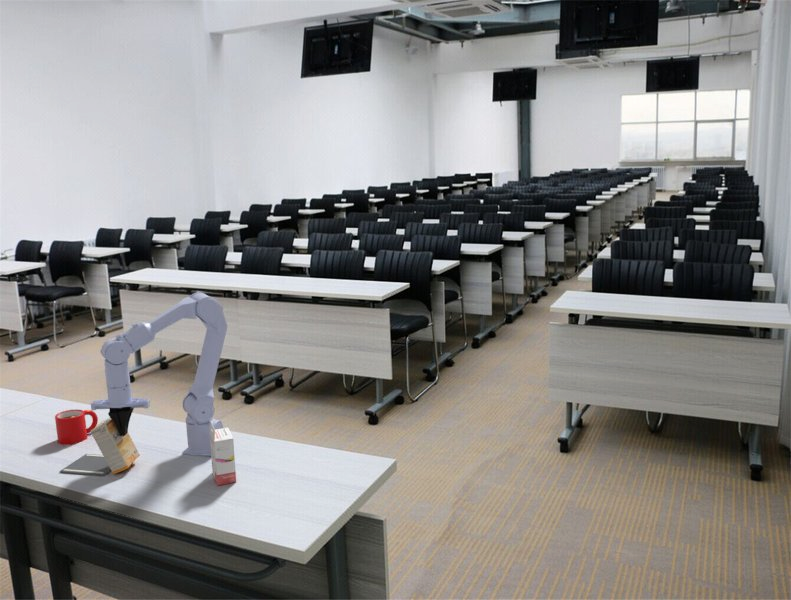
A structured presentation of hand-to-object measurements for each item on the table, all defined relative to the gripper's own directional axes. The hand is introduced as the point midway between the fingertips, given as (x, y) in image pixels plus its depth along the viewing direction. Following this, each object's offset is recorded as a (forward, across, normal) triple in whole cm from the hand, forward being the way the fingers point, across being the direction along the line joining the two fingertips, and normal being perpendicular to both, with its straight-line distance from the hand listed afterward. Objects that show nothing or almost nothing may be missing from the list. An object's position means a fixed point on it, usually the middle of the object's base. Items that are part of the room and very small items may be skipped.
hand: (123, 434), depth 182 cm
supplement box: (+9, 0, 0) cm, 9 cm away
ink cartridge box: (+10, -27, +8) cm, 30 cm away
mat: (+9, +9, -2) cm, 14 cm away
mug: (+10, +22, -23) cm, 33 cm away
